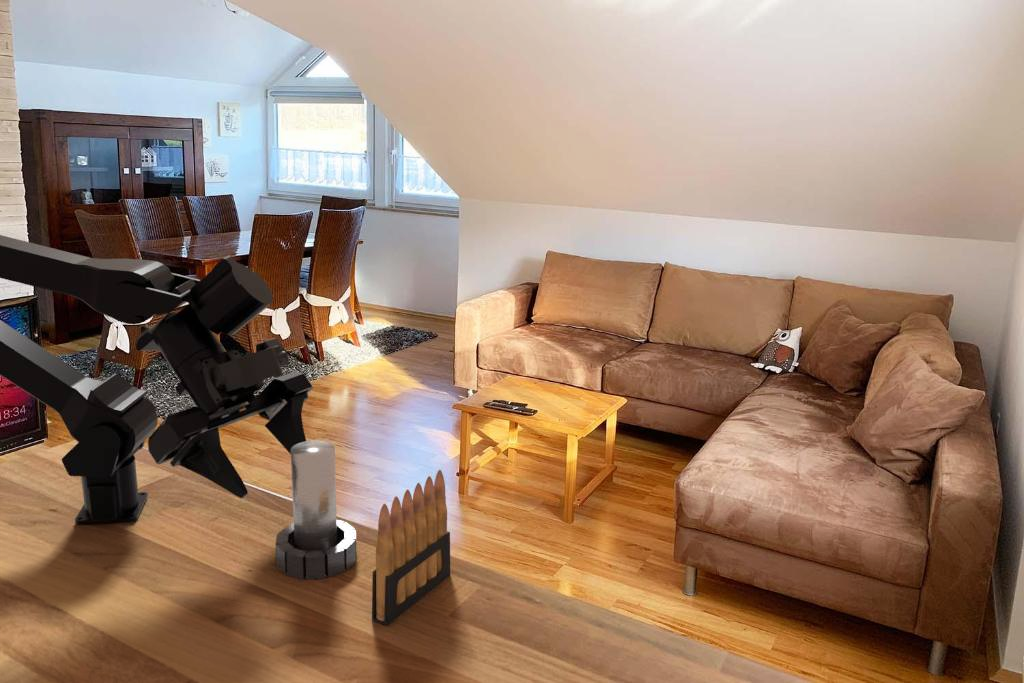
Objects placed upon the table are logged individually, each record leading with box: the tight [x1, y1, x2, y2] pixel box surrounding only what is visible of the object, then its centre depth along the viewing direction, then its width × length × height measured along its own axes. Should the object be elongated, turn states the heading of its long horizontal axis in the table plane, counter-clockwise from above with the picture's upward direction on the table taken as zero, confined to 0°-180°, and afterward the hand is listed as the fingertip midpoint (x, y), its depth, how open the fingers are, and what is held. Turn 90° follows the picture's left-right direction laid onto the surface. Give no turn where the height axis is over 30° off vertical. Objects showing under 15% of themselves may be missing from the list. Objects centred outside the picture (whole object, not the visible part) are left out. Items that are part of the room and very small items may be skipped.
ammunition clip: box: [371, 469, 451, 626], centre depth 83 cm, size 11×2×12 cm, turn 150°
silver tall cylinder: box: [290, 439, 338, 551], centre depth 89 cm, size 4×4×12 cm
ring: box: [275, 519, 357, 580], centre depth 91 cm, size 8×8×2 cm
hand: (277, 479), depth 91 cm, fingers open, 9 cm apart
